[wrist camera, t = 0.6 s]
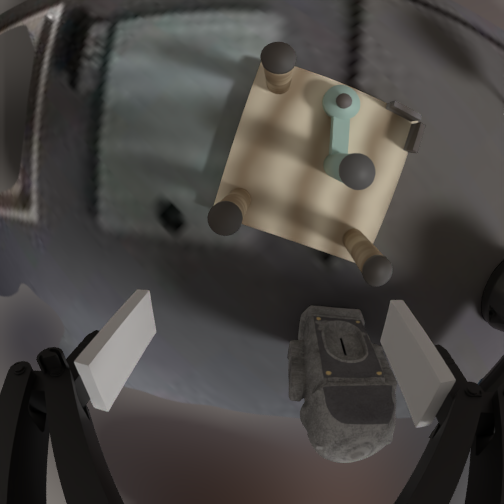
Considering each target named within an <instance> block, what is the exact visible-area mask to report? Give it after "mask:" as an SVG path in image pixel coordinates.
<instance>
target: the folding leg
mask: <svg viewBox="0 0 504 504" xmlns="http://www.w3.org/2000/svg"><path fill="white" fill-rule="evenodd" d="M342 93H346V94H348V95H350V97H351V98H352V104H351V106H350V107H348V108H346V109H342V108H340V107H338V106H337V104H336V98H337V96H338V95H340V94H342ZM322 106H323V109H324V111H325V113H326V114H327V115H328V116H329V117H330V118H331V129H330V145H329V155H328V156H327V157H326V158H325V160H324V163H323V167H324V170H325V172H326V174H327V175H329V176H330V177H332V178H334V179H336V180H338V181H340V182H342V183H344V184H345V185H346V186H347V187H349V188H351V189H354V190H363V189H366V188H367V187H369V186H370V185H371V184H372V182H373V181H374V178H375V173H376V171H375V166H374V164H373V162H372V160H371V159H370V158H369V157H368V156H366V155H364V154H361V153H352V154H348V144H349V128H350V118H352V117H354V116H355V115H356V114H357V113H358V111H359V109H360V99H359V96H358V95H357V93H356V92H355V91H354V90H353V89H352V88H350V87H348V86H346V85H336V86H333V87H331V88H330V89H329V90H328V91H327V92H326V93H325V95H324V96H323V99H322Z"/></svg>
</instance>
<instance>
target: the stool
mask: <svg viewBox="0 0 504 504" xmlns="http://www.w3.org/2000/svg"><path fill="white" fill-rule="evenodd" d="M296 60H297V56H296V52H295V50H294V49H293V48H292V47H291V46H290V45H288V44H286V43H283V42H273V43H270V44H268V45H267V46H265V47H264V48H263V50H262V52H261V63H260V66H259V68H258V71H257V74H256V77H255V79H254V82H253V85H252V88H251V91H250V94H249V96H248V99H247V102H246V105H245V108H244V111H243V114H242V117H241V120H240V123H239V126H238V129H237V132H236V135H235V138H234V141H233V144H232V147H231V150H230V154H229V157H228V160H227V163H226V166H225V170H224V173H223V176H222V179H221V183H220V186H219V189H218V193H217V196H216V199H215V203H214V206H213V207H212V208H211V209H210V211H209V213H208V223H209V226H210V228H211V229H212V230H213V231H214V232H215V233H217V234H219V235H223V236H228V235H232V234H234V233H235V232H237V231H238V229H239V228H240V226H241V224H244V225H247V226H250V227H253V228H256V229H259V230H262V231H265V232H268V233H271V234H274V235H277V236H279V237H282V238H285V239H288V240H291V241H294V242H297V243H300V244H303V245H306V246H309V247H312V248H314V249H317V250H320V251H323V252H326V253H329V254H332V255H334V256H337V257H340V258H343V259H346V260H349V261H351V262H354V263H356V265H357V266H358V268H359V269H360V271H361V273H362V275H363V278H364V279H365V281H366V282H367V283H368V284H369V285H371V286H381V285H383V284H385V283H386V282H387V281H388V280H389V279H390V278H391V275H392V272H393V267H392V264H391V262H390V261H389V260H388V259H387V258H386V257H385V256H383V255H382V254H381V252H380V251H379V250H378V249H377V248H376V247H375V246H374V245H373V243H374V240H375V238H376V236H377V233H378V231H379V229H380V226H381V224H382V221H383V219H384V216H385V214H386V212H387V209H388V206H389V204H390V201H391V199H392V196H393V193H394V191H395V188H396V185H397V183H398V180H399V177H400V174H401V172H402V169H403V166H404V163H405V160H406V157H407V154H408V152H410V153H418V150H419V147H420V144H421V141H422V138H423V134H424V131H425V128H426V125H425V124H423V123H422V122H420V123H417V122H418V121H419V120H421V116H422V115H421V114H420V113H418V112H416V111H414V110H412V109H411V108H409V107H407V106H405V105H403V104H401V103H399V102H397V101H396V100H395V101H392V102H390V103H385V102H383V101H381V100H379V99H376V98H374V97H372V96H370V95H368V94H366V93H363V92H361V91H359V90H357V89H354V88H352V87H350V88H352V89H353V90H354V91H355V92H356V93H357V95H358V96H359V99H360V109H359V111H358V113H357V114H356V115H355V116H354V117H352V118H350V128H349V144H348V154H352V153H361V154H364V155H366V156H368V157H369V158H370V159H371V160H372V162H373V164H374V166H375V171H376V173H375V178H374V181H373V182H372V184H371V185H370V186H369V187H367V188H366V189H363V190H354V189H351V188H349V187H347V186H346V185H345V184H344V183H342V182H340V181H338V180H336V179H334V178H332V177H330V176H329V175H327V174H326V172H325V170H324V167H323V163H324V160H325V158H326V157H327V156H328V155H329V145H330V129H331V118H330V117H329V116H328V115H327V114H326V113H325V111H324V109H323V106H322V99H323V96H324V95H325V93H326V92H327V91H328V90H329V89H330V88H331V87H333V86H336V85H345V84H342V83H340V82H337V81H335V80H332V79H329V78H327V77H324V76H321V75H319V74H316V73H313V72H310V71H307V70H304V69H301V68H298V67H295V64H296ZM346 86H347V85H346ZM348 87H349V86H348ZM336 104H337V106H338V107H340V108H342V109H346V108H348V107H350V106H351V104H352V98H351V97H350V95H348V94H346V93H342V94H340V95H338V96H337V98H336Z"/></svg>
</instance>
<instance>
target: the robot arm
mask: <svg viewBox="0 0 504 504" xmlns="http://www.w3.org/2000/svg"><path fill="white" fill-rule="evenodd" d="M481 308H482V315H483V317H484V319H485V320H486V321H487V322H488V323H489V325H490V326H492V327H493V328H495V329H498V330H500V331H503V332H504V261H503V262H502V263H501V264H500V265H499V266H498V267H497V268H496V270H495V271H494V272H493V274H492V275H491V277H490V279H489V281H488V283H487V285H486V288H485V290H484V294H483V298H482V307H481ZM155 333H156V327H155V322H154V316H153V310H152V304H151V297H150V291H149V290H139V289H137V290H136V291H135V292H134V294H133V295H132V296H131V297H130V298H129V299H128V300H127V301H126V302H125V303H124V304H123V306H122V307H121V308H120V309H119V310H118V311H117V312H116V313H115V314H114V316H113V317H112V318H111V319H110V320H109V321H108V322H107V323H106V325H105V326H104V327H103V328H102V329H101V330H100V331H97V330H95V331H93V332H92V333H90V334H88V335H87V336H86V337H85V338H84V339H83V341H82V342H81V343H80V344H79V345H78V347H76V349H75V350H74V351H73V352H72V353H71V354H70V355H69V357H68V358H67V359H65V356H64V353H63V351H62V350H61V349H60V348H56V347H52V348H47V349H44V350H43V351H41V352H40V353H39V354H38V356H37V359H36V360H37V362H38V364H39V366H40V368H41V371H33V369H32V367H31V365H30V364H29V363H28V362H25V361H21V362H17V363H15V364H14V365H12V366H11V367H10V369H9V371H8V373H7V376H6V379H5V382H4V385H3V388H2V390H1V393H0V504H46V474H47V455H48V442H49V433H50V437H51V442H52V448H53V452H54V457H55V462H56V466H57V470H58V474H59V478H60V482H61V486H62V489H63V493H64V496H65V499H66V503H67V504H124V502H123V500H122V498H121V496H120V494H119V492H118V489H117V488H116V485H115V483H114V480H113V478H112V476H111V473H110V471H109V468H108V466H107V463H106V461H105V458H104V455H103V452H102V450H101V447H100V444H99V441H98V438H97V435H96V432H95V429H94V426H93V422H92V419H91V416H90V413H89V409H88V407H87V405H86V404H87V403H88V401H89V400H91V402H92V404H93V406H94V408H97V409H100V410H104V411H107V412H108V411H109V409H110V408H111V406H112V404H113V403H114V401H115V399H116V397H117V396H118V394H119V392H120V391H121V389H122V387H123V386H124V384H125V382H126V381H127V379H128V377H129V376H130V374H131V372H132V371H133V369H134V367H135V366H136V364H137V362H138V361H139V359H140V357H141V356H142V354H143V352H144V351H145V349H146V348H147V346H148V344H149V343H150V341H151V339H152V338H153V336H154V335H155ZM380 342H381V345H382V347H383V349H384V351H385V354H386V356H387V358H388V360H389V363H390V365H391V367H392V370H393V372H394V374H395V377H396V379H397V381H398V384H399V386H400V389H401V391H402V394H403V396H404V399H405V401H406V404H407V406H408V409H409V411H410V414H411V416H412V419H413V422H414V424H415V427H416V428H418V427H423V426H428V425H431V423H432V422H433V420H434V418H435V417H437V420H438V422H439V423H438V424H437V426H436V427H435V429H434V430H433V432H432V433H431V435H430V436H429V438H430V441H429V443H428V445H427V447H426V449H425V451H424V453H423V455H422V457H421V459H420V460H419V462H418V464H417V466H416V468H415V470H414V472H413V473H412V475H411V477H410V479H409V481H408V482H407V484H406V485H405V487H404V489H403V490H402V492H401V493H400V495H399V497H398V498H397V500H396V501H395V503H394V504H449V502H450V500H451V498H452V496H453V494H454V491H455V489H456V486H457V484H458V482H459V479H460V477H461V474H462V472H463V469H464V466H465V463H466V461H467V458H468V455H469V452H470V449H471V454H470V467H469V477H468V485H467V492H466V499H465V504H504V355H503V356H502V357H501V359H500V360H499V361H498V362H497V363H496V364H495V366H494V367H493V368H492V369H491V370H490V371H489V372H488V373H487V375H486V376H485V377H484V378H482V379H481V380H480V381H479V382H478V384H476V383H474V382H467V380H466V379H465V377H464V376H463V374H462V372H461V371H460V369H459V368H458V366H457V365H456V364H455V362H454V360H453V359H452V358H451V356H450V354H449V353H448V351H447V350H446V349H444V348H443V347H442V346H441V345H434V344H433V343H432V341H431V340H430V338H429V337H428V335H427V334H426V332H425V331H424V329H423V328H422V327H421V325H420V324H419V322H418V321H417V319H416V318H415V316H414V315H413V314H412V312H411V311H410V309H409V308H408V307H407V305H406V304H405V302H404V301H403V300H390V304H389V309H388V313H387V317H386V321H385V325H384V329H383V332H382V336H381V340H380Z"/></svg>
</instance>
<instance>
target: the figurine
mask: <svg viewBox="0 0 504 504" xmlns="http://www.w3.org/2000/svg"><path fill="white" fill-rule="evenodd" d="M364 325H365V322H364V319H363V315H362V313H361V310H360V309H347V308H334V307H325V306H313V305H311V306H309V307H308V308H307V309H306V310H305V311H304V312H303V313H302V314H301V318H300V324H299V333H298V340H292V341H290V344H289V350H288V360H289V369H288V373H289V398H290V400H292V401H300V400H301V399H303V398H304V399H305V402H304V404H303V406H302V408H301V411H300V419H301V422H302V424H303V425H304V427H305V428H306V430H307V432H308V437H309V440H310V442H311V444H312V446H313V448H314V449H315V451H316V452H317V453H318V454H319V455H320V456H321V457H323V458H325V459H328V460H331V461H334V462H339V463H349V462H354V461H358V460H361V459H364V458H367V457H370V456H371V455H373V454H375V453H376V452H378V451H379V450H380V449H382V448H383V447H384V446H385V445H387V444H390V443H391V442H392V439H393V432H394V428H395V419H396V418H395V410H396V394H395V391H396V386H397V381H396V379H395V377H394V375H393V372H392V370H391V369H390V367H389V364H388V362H387V360H386V358H385V356H384V354H383V352H382V350H383V347H382V346H379V345H377V344H372V343H371V340H370V337H369V336H368V334H367V332H366V330H365V327H364ZM340 339H341V340H340Z"/></svg>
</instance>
